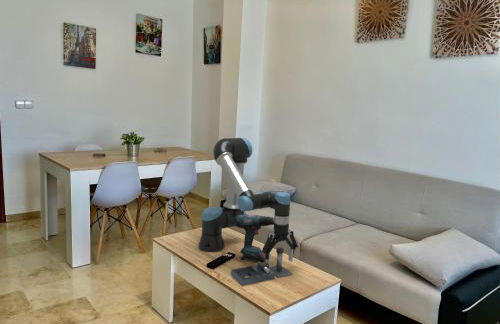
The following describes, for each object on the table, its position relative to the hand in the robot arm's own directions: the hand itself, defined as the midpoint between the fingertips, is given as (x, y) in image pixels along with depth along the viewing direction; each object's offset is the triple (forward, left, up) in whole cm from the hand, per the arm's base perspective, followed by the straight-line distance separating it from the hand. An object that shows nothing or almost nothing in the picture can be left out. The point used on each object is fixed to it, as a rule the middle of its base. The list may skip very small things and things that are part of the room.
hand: (279, 263), depth 196 cm
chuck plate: (0, -16, -4) cm, 16 cm away
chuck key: (0, 0, -4) cm, 4 cm away
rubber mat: (0, 0, -4) cm, 4 cm away
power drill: (-19, -4, -5) cm, 20 cm away
